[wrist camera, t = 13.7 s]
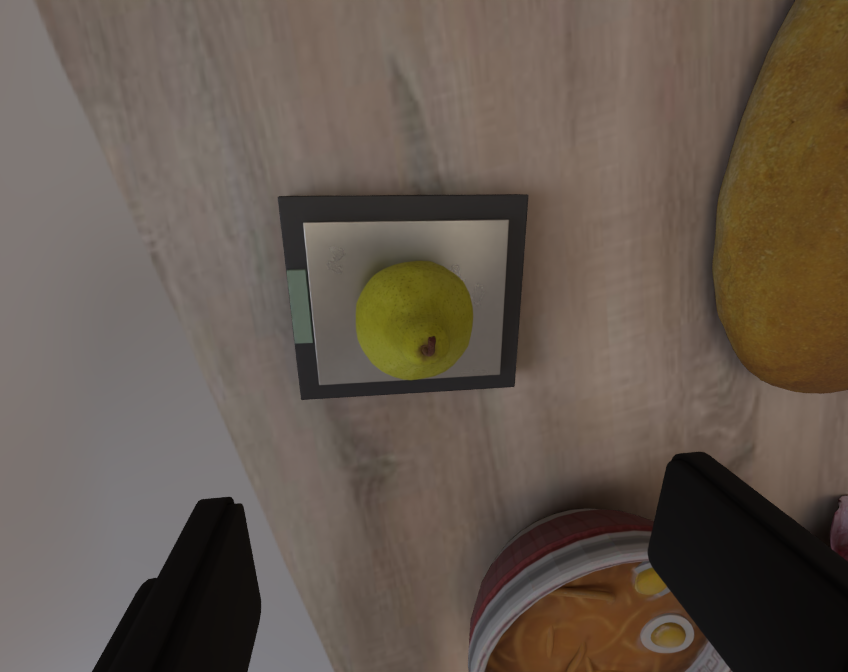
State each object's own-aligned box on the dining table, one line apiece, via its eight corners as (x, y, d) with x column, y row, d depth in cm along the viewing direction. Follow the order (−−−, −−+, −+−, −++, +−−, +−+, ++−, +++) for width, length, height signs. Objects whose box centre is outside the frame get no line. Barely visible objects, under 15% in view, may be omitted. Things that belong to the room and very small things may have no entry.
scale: (305, 385, 32) (300, 402, 30) (285, 196, 28) (276, 196, 25) (505, 374, 34) (516, 389, 31) (516, 194, 29) (530, 194, 27)
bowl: (695, 465, 40) (796, 549, 30) (635, 635, 47) (702, 746, 38) (463, 464, 36) (495, 558, 27) (437, 648, 44) (455, 772, 34)
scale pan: (320, 380, 30) (319, 385, 29) (304, 221, 26) (302, 222, 25) (496, 370, 31) (500, 375, 30) (505, 218, 27) (509, 219, 27)
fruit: (453, 354, 29) (505, 455, 18) (356, 351, 28) (346, 456, 17) (464, 256, 27) (530, 301, 16) (358, 249, 26) (349, 292, 15)
